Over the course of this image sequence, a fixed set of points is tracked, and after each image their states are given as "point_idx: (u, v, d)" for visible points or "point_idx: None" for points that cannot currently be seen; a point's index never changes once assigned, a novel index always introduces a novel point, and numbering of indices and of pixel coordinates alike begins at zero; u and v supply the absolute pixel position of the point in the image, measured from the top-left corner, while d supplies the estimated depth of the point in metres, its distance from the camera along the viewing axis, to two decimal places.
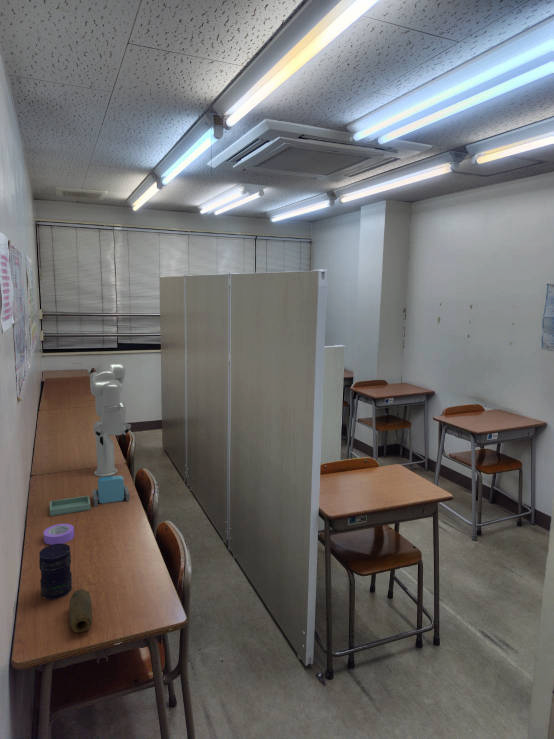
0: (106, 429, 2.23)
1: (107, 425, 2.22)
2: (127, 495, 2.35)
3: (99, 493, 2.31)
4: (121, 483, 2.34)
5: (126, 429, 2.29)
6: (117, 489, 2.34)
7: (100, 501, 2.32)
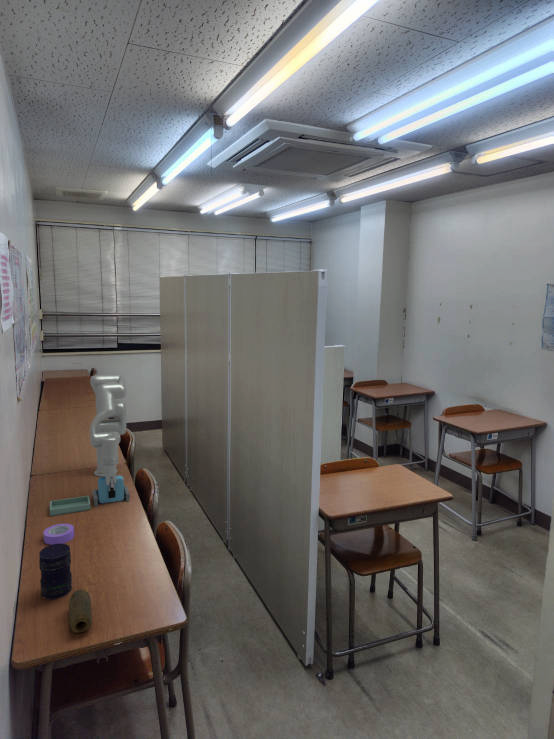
0: None
1: None
2: (127, 495, 2.35)
3: (99, 493, 2.31)
4: (121, 483, 2.34)
5: None
6: (117, 489, 2.34)
7: (100, 501, 2.32)
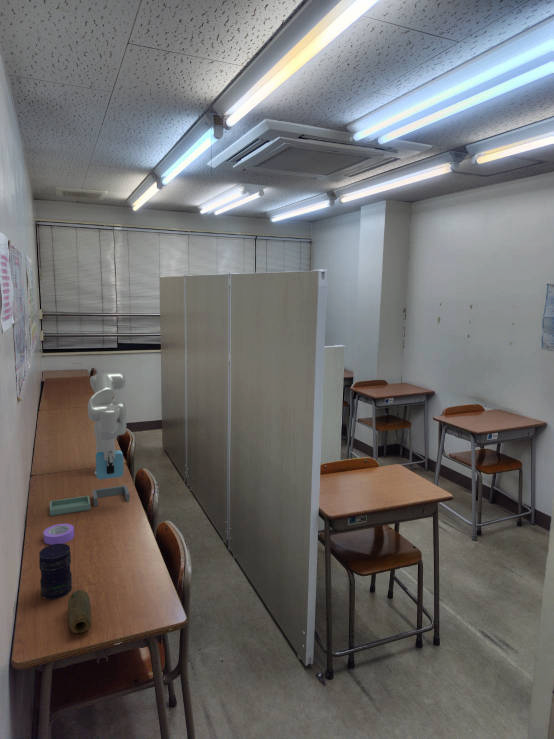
0: None
1: None
2: (127, 495, 2.35)
3: (97, 468, 2.20)
4: (120, 458, 2.23)
5: None
6: (117, 465, 2.23)
7: (98, 477, 2.20)
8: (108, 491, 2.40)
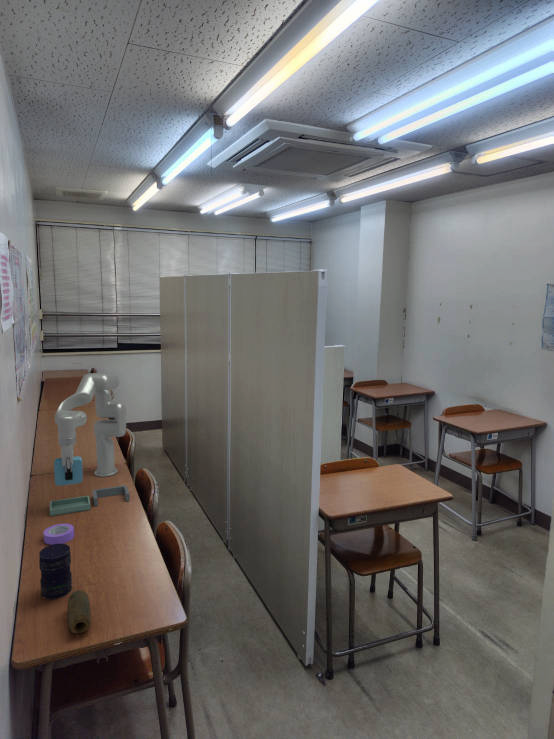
0: None
1: (73, 456, 2.21)
2: (127, 495, 2.35)
3: (55, 475, 2.19)
4: (79, 464, 2.22)
5: None
6: (75, 471, 2.22)
7: (56, 483, 2.20)
8: (108, 491, 2.40)
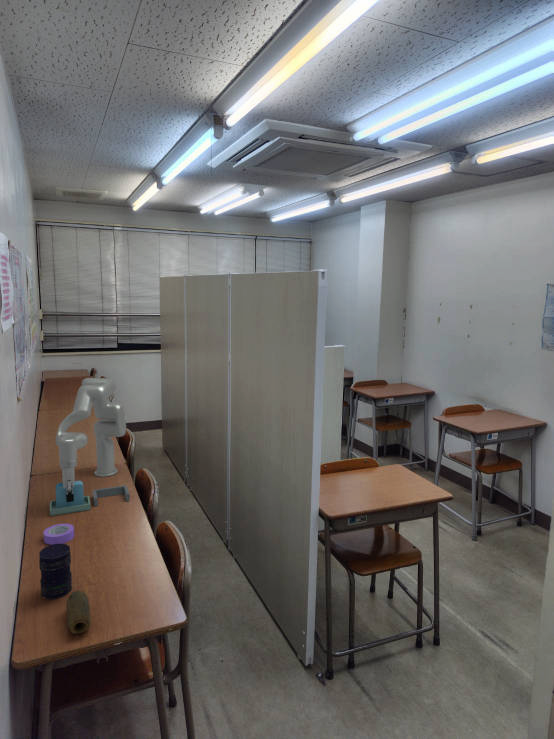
0: None
1: (74, 478, 2.22)
2: (127, 495, 2.35)
3: (57, 500, 2.21)
4: (81, 488, 2.25)
5: None
6: (77, 495, 2.24)
7: None
8: (108, 491, 2.40)
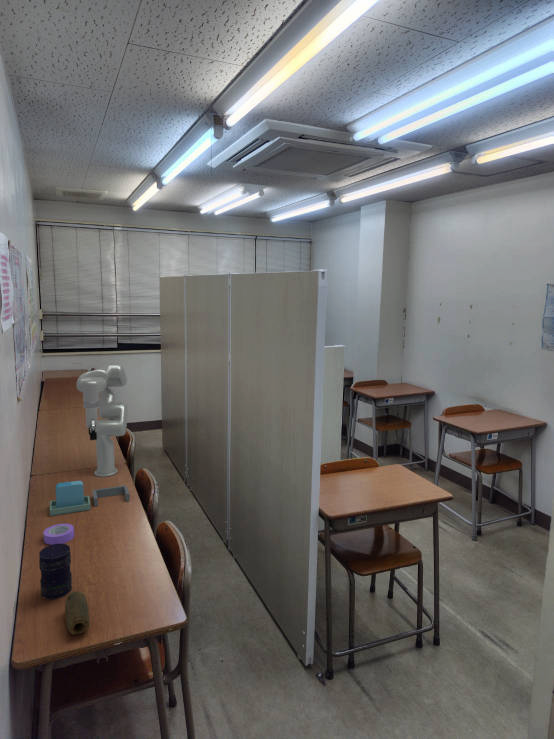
0: None
1: None
2: (127, 495, 2.35)
3: (57, 500, 2.21)
4: (81, 488, 2.25)
5: None
6: (77, 495, 2.24)
7: None
8: (108, 491, 2.40)
